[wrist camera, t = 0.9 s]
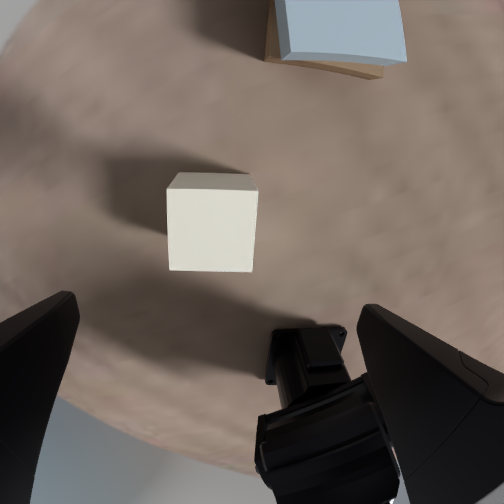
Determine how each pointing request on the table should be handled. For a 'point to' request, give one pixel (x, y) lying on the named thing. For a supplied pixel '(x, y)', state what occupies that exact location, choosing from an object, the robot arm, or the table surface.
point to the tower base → (335, 66)
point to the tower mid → (341, 31)
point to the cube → (211, 222)
